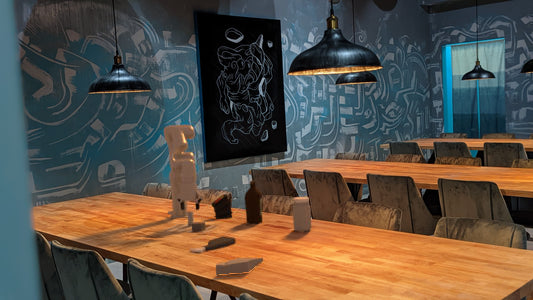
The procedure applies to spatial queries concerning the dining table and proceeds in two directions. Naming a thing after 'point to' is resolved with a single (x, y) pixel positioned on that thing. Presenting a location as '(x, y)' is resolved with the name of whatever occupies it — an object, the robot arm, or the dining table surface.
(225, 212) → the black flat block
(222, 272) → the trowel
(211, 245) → the brown brush
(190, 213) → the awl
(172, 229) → the panel
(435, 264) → the dining table surface
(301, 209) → the jar
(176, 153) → the robot arm
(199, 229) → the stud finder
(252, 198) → the olive oil
